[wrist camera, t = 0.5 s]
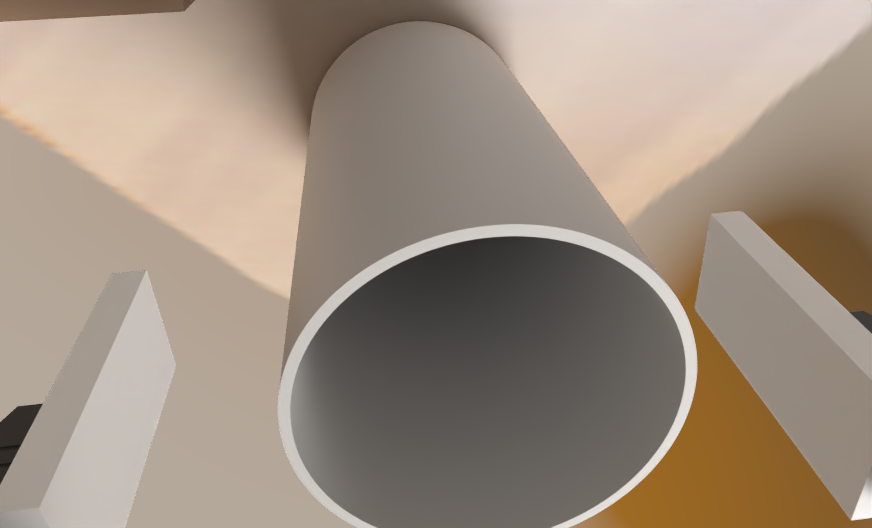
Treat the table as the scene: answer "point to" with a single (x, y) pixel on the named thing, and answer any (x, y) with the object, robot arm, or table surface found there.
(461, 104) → the cylinder vase
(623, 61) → the table surface
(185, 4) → the shelf
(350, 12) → the table surface
